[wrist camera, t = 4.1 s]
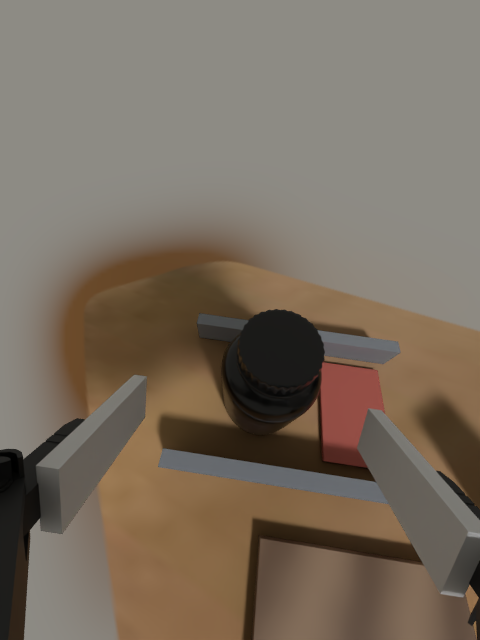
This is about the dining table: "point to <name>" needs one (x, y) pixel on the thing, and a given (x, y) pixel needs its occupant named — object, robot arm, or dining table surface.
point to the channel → (276, 475)
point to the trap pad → (346, 410)
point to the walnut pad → (349, 596)
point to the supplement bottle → (272, 371)
